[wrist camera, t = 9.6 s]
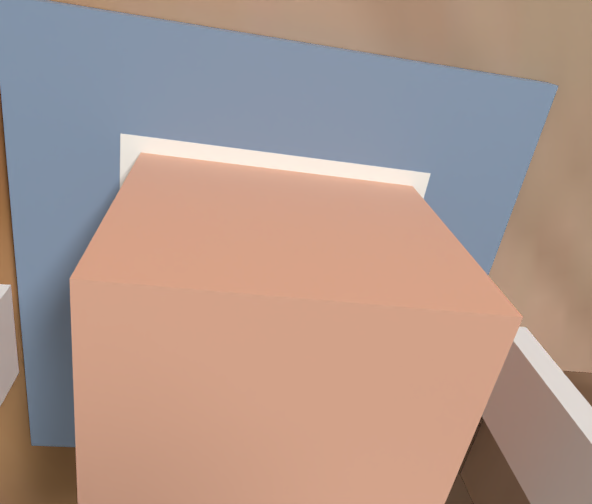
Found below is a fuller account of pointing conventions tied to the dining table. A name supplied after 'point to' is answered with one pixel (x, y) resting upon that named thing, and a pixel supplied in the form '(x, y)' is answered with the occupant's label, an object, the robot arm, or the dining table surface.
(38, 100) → the board
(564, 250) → the dining table surface
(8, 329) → the robot arm
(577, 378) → the walnut column
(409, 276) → the terracotta base
